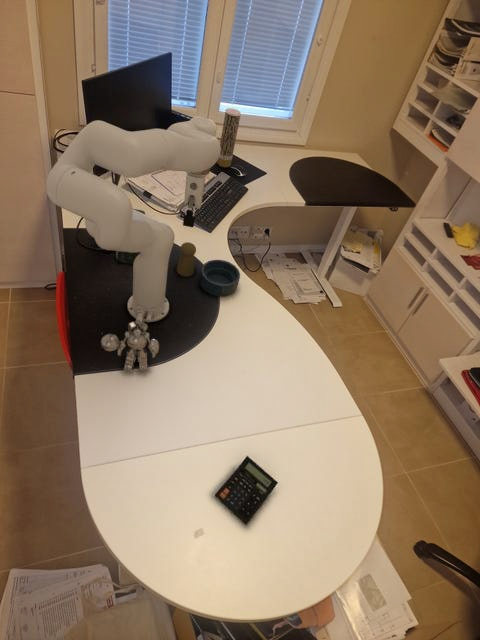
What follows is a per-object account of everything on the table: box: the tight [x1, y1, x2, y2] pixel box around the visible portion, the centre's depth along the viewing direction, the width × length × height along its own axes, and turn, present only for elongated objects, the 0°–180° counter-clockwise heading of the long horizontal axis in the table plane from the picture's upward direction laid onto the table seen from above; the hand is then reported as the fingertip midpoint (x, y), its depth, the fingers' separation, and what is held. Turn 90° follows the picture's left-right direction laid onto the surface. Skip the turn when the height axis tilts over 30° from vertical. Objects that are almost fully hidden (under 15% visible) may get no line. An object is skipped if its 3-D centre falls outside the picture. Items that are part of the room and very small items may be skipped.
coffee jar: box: [115, 208, 146, 265], centre depth 135 cm, size 10×8×19 cm
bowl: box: [199, 259, 241, 297], centre depth 139 cm, size 13×13×6 cm
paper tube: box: [216, 107, 242, 169], centre depth 191 cm, size 7×7×25 cm
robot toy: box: [100, 321, 160, 373], centre depth 107 cm, size 15×6×15 cm, turn 96°
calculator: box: [214, 455, 279, 526], centre depth 95 cm, size 9×12×3 cm
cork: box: [176, 242, 197, 277], centre depth 139 cm, size 6×6×11 cm
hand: (190, 217), depth 127 cm, fingers open, 9 cm apart
